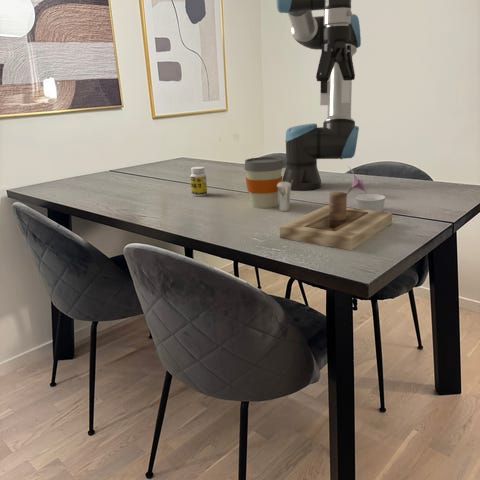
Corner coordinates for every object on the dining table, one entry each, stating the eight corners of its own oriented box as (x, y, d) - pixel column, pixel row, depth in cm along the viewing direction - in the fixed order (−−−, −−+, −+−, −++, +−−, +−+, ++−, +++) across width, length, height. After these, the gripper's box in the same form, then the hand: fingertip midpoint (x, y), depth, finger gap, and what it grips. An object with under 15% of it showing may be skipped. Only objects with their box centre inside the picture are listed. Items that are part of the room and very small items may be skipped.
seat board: (279, 237, 125) (279, 225, 124) (326, 214, 144) (326, 204, 143) (351, 250, 113) (351, 237, 112) (391, 223, 132) (392, 212, 131)
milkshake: (289, 212, 148) (289, 180, 145) (274, 211, 151) (273, 179, 148) (296, 209, 152) (295, 178, 149) (281, 207, 155) (280, 177, 152)
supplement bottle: (189, 196, 178) (186, 168, 175) (196, 192, 183) (194, 166, 180) (203, 196, 176) (201, 169, 173) (209, 193, 181) (208, 166, 178)
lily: (362, 204, 159) (376, 178, 157) (331, 188, 163) (344, 163, 161) (366, 207, 170) (380, 182, 168) (337, 192, 174) (350, 168, 172)
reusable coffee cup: (255, 199, 168) (253, 156, 163) (289, 201, 162) (288, 157, 158) (239, 208, 157) (237, 162, 153) (275, 210, 152) (274, 163, 147)
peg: (325, 231, 128) (326, 194, 125) (333, 227, 132) (334, 191, 129) (341, 233, 126) (342, 196, 123) (348, 229, 129) (349, 193, 126)
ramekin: (370, 215, 141) (370, 201, 140) (348, 210, 149) (349, 196, 147) (391, 210, 146) (391, 196, 144) (369, 205, 153) (369, 192, 152)
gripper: (328, 21, 124) (327, 106, 131) (367, 27, 143) (365, 101, 150) (303, 24, 129) (303, 106, 135) (344, 30, 147) (342, 101, 154)
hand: (335, 104), depth 142 cm, fingers open, 13 cm apart
